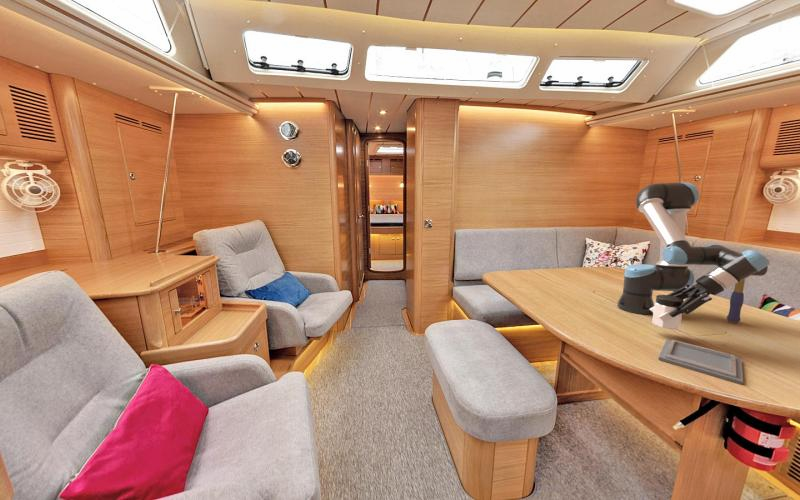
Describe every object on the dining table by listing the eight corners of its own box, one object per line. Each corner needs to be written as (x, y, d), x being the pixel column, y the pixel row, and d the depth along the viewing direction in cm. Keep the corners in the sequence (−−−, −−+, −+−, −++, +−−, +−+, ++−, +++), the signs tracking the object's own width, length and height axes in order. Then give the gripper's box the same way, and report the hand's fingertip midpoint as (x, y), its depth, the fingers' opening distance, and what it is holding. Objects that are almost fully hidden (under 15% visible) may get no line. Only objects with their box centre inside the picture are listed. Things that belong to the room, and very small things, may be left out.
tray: (665, 357, 98) (665, 354, 98) (671, 342, 109) (671, 339, 108) (735, 377, 86) (736, 373, 86) (734, 358, 97) (735, 355, 96)
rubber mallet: (716, 322, 127) (726, 258, 122) (710, 316, 133) (720, 255, 128) (758, 328, 120) (770, 261, 115) (749, 322, 126) (761, 258, 122)
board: (658, 359, 99) (658, 357, 99) (666, 341, 111) (666, 339, 111) (742, 384, 84) (743, 381, 84) (740, 361, 97) (741, 358, 96)
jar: (676, 331, 110) (680, 303, 108) (649, 324, 117) (653, 297, 115) (682, 325, 115) (686, 298, 113) (656, 319, 122) (660, 293, 119)
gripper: (743, 297, 98) (676, 333, 107) (706, 281, 116) (652, 312, 125) (725, 282, 99) (660, 318, 108) (691, 268, 117) (639, 300, 126)
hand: (656, 315), depth 116 cm, fingers closed on jar, 8 cm apart
